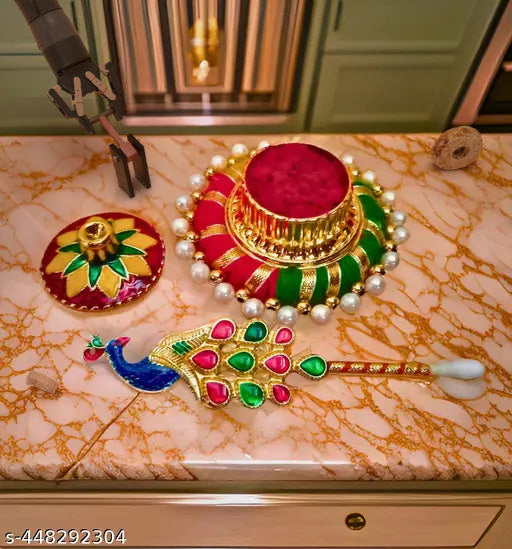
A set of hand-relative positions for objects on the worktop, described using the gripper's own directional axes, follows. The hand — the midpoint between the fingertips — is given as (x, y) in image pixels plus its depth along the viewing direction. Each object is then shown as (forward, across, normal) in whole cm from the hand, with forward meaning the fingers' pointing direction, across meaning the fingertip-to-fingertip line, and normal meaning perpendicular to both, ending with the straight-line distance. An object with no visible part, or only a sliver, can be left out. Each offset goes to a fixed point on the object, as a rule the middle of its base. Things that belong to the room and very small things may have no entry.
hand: (106, 126), depth 111 cm
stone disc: (+40, +57, -23) cm, 73 cm away
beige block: (+32, -36, -15) cm, 50 cm away
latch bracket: (+14, 0, +4) cm, 14 cm away
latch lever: (+3, 0, -1) cm, 3 cm away
